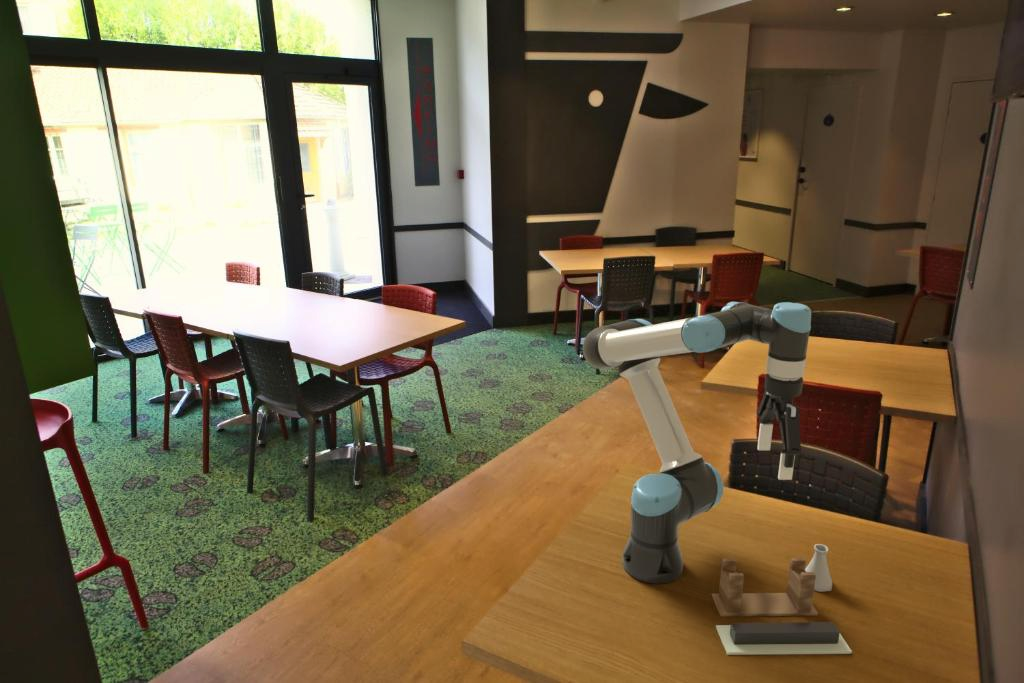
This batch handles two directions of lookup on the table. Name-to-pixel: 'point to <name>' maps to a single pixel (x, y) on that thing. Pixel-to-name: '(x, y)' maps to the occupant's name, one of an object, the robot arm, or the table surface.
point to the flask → (820, 569)
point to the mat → (779, 646)
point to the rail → (784, 633)
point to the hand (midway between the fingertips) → (773, 463)
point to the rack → (766, 594)
